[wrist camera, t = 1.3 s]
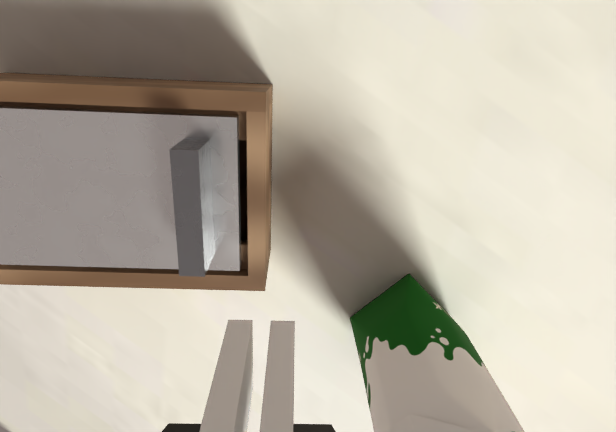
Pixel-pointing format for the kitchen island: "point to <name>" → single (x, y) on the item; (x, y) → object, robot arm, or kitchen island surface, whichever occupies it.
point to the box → (172, 99)
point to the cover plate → (120, 189)
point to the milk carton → (424, 368)
